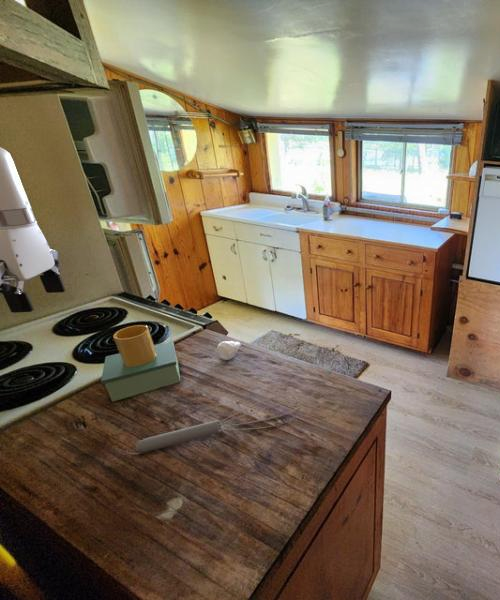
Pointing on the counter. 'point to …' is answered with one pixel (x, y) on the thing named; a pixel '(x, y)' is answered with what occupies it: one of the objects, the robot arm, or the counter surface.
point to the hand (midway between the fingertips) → (40, 301)
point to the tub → (140, 373)
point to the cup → (135, 345)
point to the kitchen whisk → (197, 431)
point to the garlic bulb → (228, 349)
